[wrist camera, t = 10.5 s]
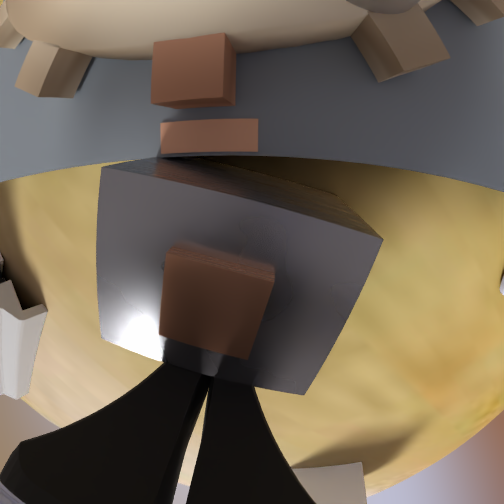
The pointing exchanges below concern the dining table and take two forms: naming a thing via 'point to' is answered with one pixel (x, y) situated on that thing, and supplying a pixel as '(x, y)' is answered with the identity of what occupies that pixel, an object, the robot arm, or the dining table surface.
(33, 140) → the base plate
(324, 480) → the white cube
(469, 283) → the dining table surface
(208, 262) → the link block
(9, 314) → the grey slotted holder
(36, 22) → the sprocket
